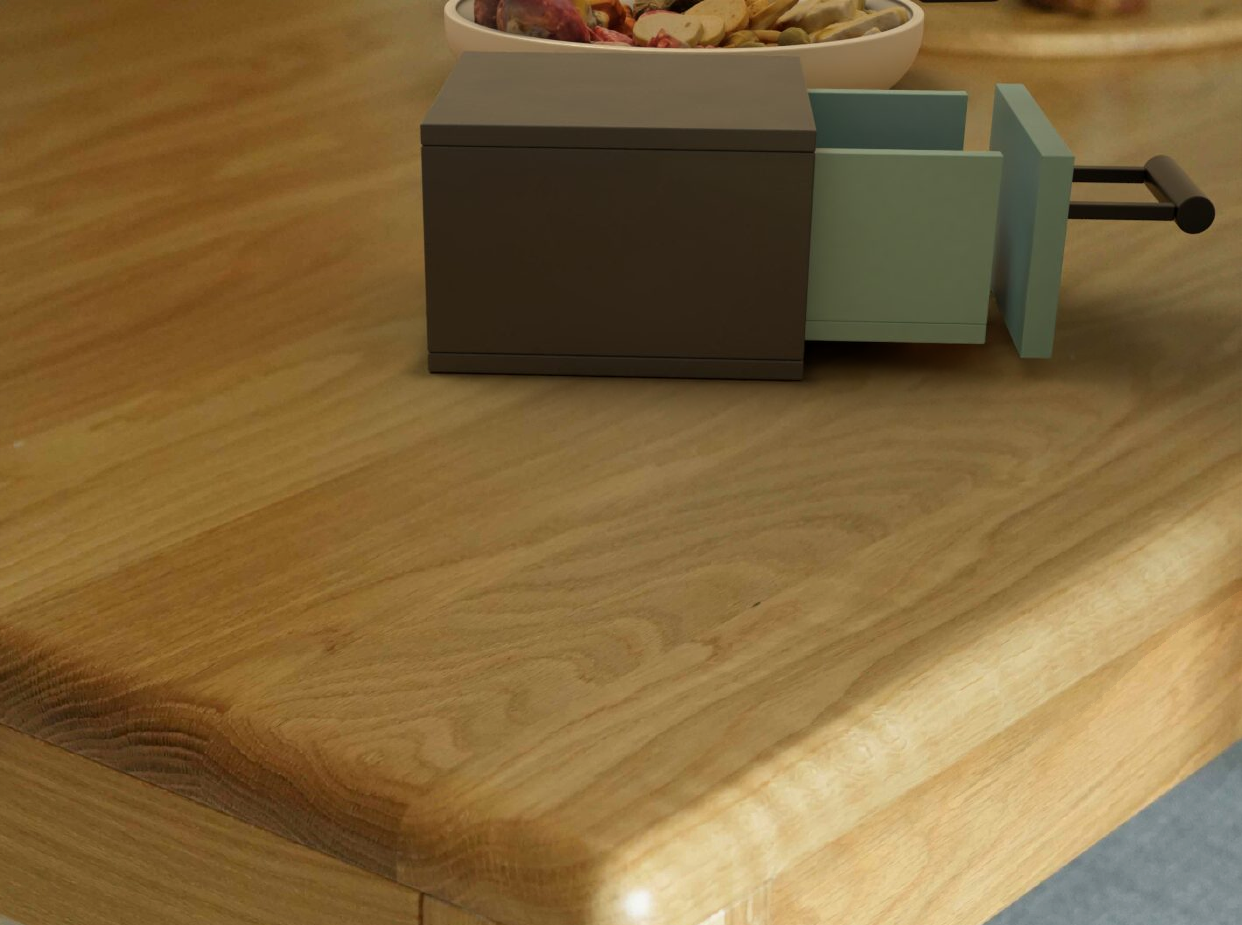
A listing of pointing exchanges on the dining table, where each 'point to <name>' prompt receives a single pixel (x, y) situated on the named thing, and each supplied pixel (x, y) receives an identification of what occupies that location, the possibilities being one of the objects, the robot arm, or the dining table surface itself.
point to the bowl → (706, 32)
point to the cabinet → (618, 215)
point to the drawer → (955, 217)
